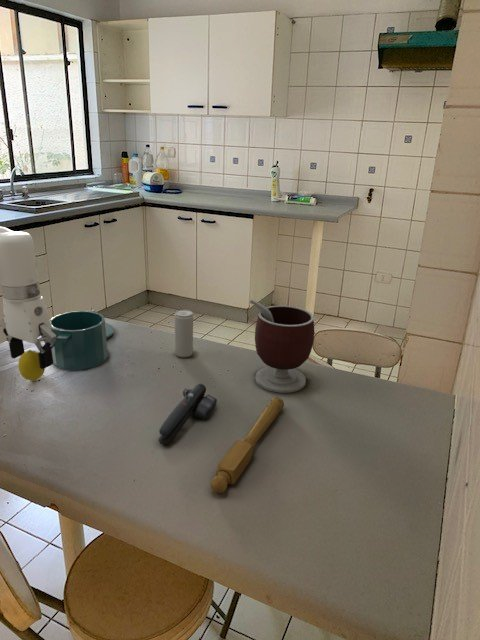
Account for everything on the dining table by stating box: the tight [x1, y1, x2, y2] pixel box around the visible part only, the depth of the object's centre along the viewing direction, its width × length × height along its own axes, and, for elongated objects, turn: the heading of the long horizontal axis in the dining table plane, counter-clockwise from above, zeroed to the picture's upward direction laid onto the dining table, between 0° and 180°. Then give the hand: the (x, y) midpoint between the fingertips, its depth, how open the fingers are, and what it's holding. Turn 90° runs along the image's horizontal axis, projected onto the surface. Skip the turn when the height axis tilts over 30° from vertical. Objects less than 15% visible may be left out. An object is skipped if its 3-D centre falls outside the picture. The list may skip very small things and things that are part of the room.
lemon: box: [17, 349, 46, 382], centre depth 107 cm, size 6×6×8 cm
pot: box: [49, 309, 109, 371], centre depth 118 cm, size 13×19×10 cm
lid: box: [105, 322, 115, 339], centre depth 132 cm, size 14×14×7 cm
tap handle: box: [209, 396, 285, 494], centre depth 89 cm, size 3×3×30 cm
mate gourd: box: [249, 299, 315, 394], centre depth 110 cm, size 16×14×20 cm
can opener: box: [158, 383, 218, 446], centre depth 94 cm, size 18×7×6 cm, turn 154°
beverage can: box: [174, 309, 194, 359], centre depth 122 cm, size 5×5×12 cm
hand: (32, 361), depth 106 cm, fingers open, 9 cm apart
